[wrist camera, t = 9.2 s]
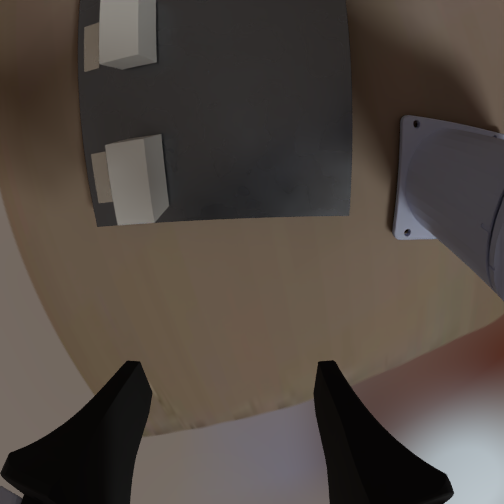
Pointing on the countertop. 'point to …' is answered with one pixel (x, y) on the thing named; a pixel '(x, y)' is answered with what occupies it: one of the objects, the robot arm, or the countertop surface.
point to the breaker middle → (127, 33)
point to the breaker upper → (137, 179)
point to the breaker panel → (229, 108)
